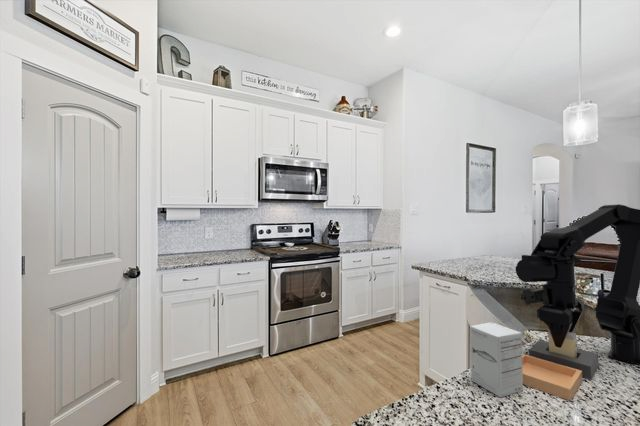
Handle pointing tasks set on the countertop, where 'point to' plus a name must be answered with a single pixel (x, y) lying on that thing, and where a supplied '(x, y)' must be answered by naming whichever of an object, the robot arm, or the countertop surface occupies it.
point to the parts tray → (550, 377)
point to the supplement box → (496, 358)
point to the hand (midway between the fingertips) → (562, 342)
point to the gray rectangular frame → (567, 358)
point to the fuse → (565, 345)
